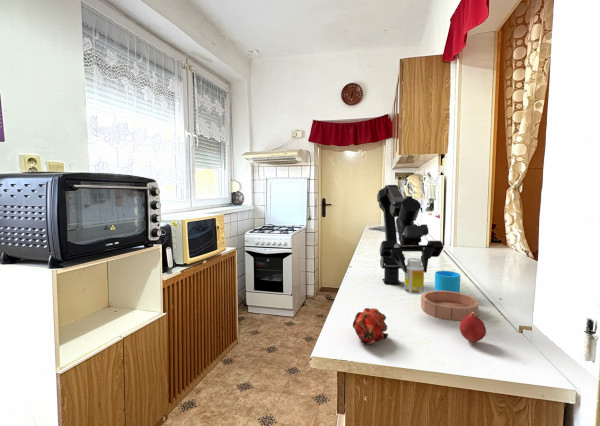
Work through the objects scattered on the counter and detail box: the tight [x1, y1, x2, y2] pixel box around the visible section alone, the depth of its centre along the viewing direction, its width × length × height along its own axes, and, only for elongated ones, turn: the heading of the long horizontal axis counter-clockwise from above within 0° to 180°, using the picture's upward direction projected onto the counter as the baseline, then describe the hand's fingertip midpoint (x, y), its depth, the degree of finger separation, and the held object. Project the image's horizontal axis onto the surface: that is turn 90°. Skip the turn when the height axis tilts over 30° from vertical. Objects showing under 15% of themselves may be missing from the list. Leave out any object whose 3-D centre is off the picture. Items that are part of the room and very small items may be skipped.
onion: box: [459, 312, 487, 345], centre depth 79 cm, size 6×6×8 cm
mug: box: [434, 270, 461, 293], centre depth 115 cm, size 12×8×8 cm
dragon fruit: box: [352, 307, 389, 346], centre depth 82 cm, size 8×8×12 cm
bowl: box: [420, 290, 480, 322], centre depth 100 cm, size 16×16×4 cm
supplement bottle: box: [404, 257, 425, 296], centre depth 98 cm, size 6×6×10 cm
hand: (415, 272), depth 97 cm, fingers closed on supplement bottle, 6 cm apart
